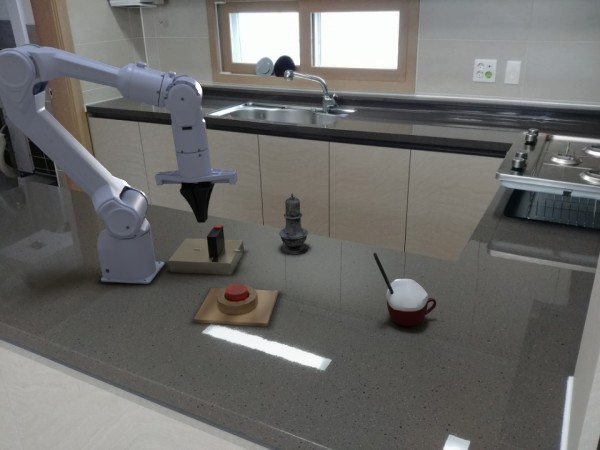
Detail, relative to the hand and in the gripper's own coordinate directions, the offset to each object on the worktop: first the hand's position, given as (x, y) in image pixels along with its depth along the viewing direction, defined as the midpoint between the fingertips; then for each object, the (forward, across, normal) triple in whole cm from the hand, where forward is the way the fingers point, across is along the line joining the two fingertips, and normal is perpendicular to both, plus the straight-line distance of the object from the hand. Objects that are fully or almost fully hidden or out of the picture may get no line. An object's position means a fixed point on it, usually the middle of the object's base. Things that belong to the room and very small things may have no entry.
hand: (202, 220), depth 99 cm
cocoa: (+11, -36, +14) cm, 40 cm away
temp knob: (+7, -1, -3) cm, 8 cm away
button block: (+10, -9, +13) cm, 19 cm away
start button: (+8, -9, +13) cm, 18 cm away
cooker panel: (+10, +1, -3) cm, 10 cm away
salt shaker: (+11, -15, -10) cm, 21 cm away
